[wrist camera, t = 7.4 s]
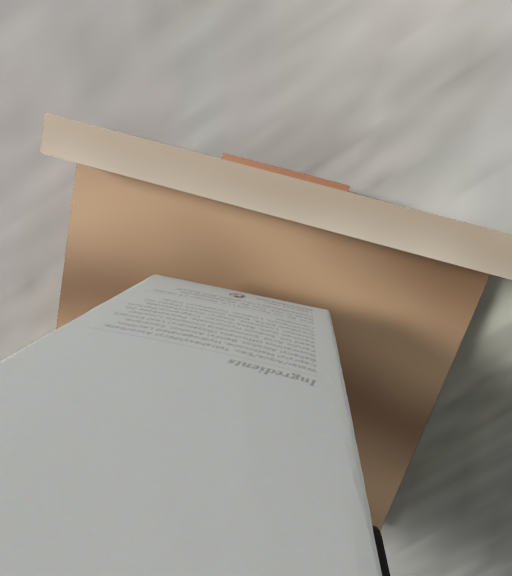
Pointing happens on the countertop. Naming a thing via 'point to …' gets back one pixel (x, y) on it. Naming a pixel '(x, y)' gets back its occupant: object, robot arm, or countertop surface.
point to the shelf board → (285, 267)
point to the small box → (182, 442)
